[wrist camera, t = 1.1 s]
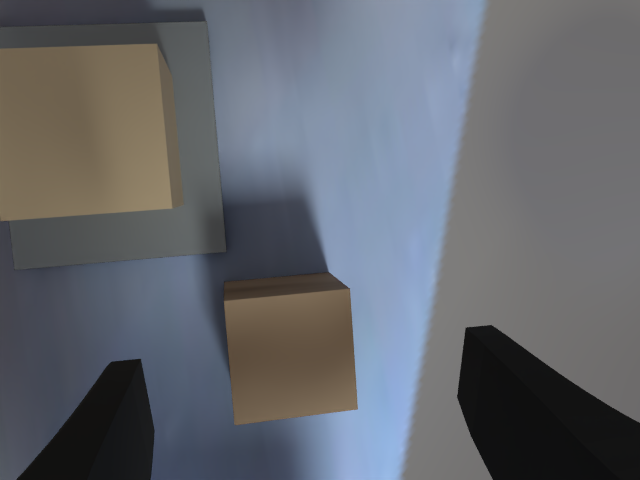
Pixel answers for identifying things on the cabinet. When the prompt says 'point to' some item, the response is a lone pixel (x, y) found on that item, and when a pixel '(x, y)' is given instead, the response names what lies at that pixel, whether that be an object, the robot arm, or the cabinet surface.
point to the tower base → (195, 150)
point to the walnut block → (289, 347)
